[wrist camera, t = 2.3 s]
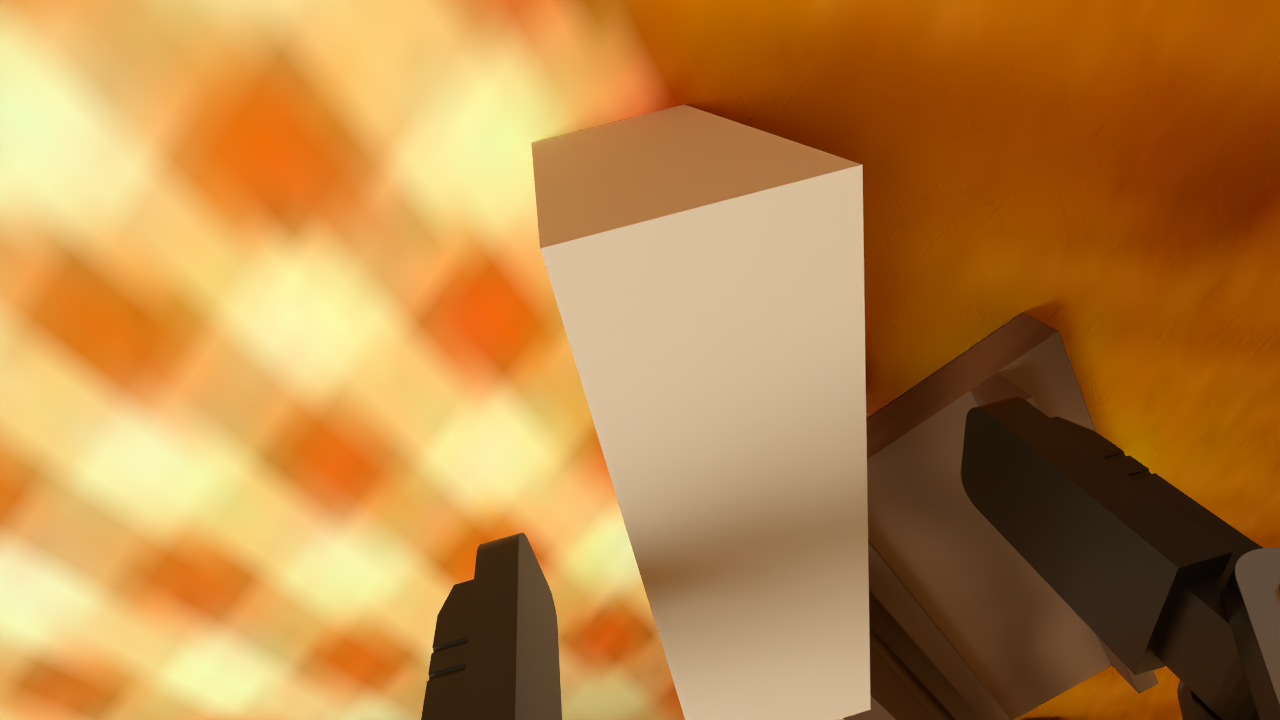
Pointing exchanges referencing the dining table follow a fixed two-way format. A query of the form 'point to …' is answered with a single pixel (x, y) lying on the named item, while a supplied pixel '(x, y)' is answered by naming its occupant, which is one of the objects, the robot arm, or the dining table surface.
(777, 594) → the white rectangular block
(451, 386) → the dining table surface
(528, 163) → the dining table surface
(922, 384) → the picture ledge
